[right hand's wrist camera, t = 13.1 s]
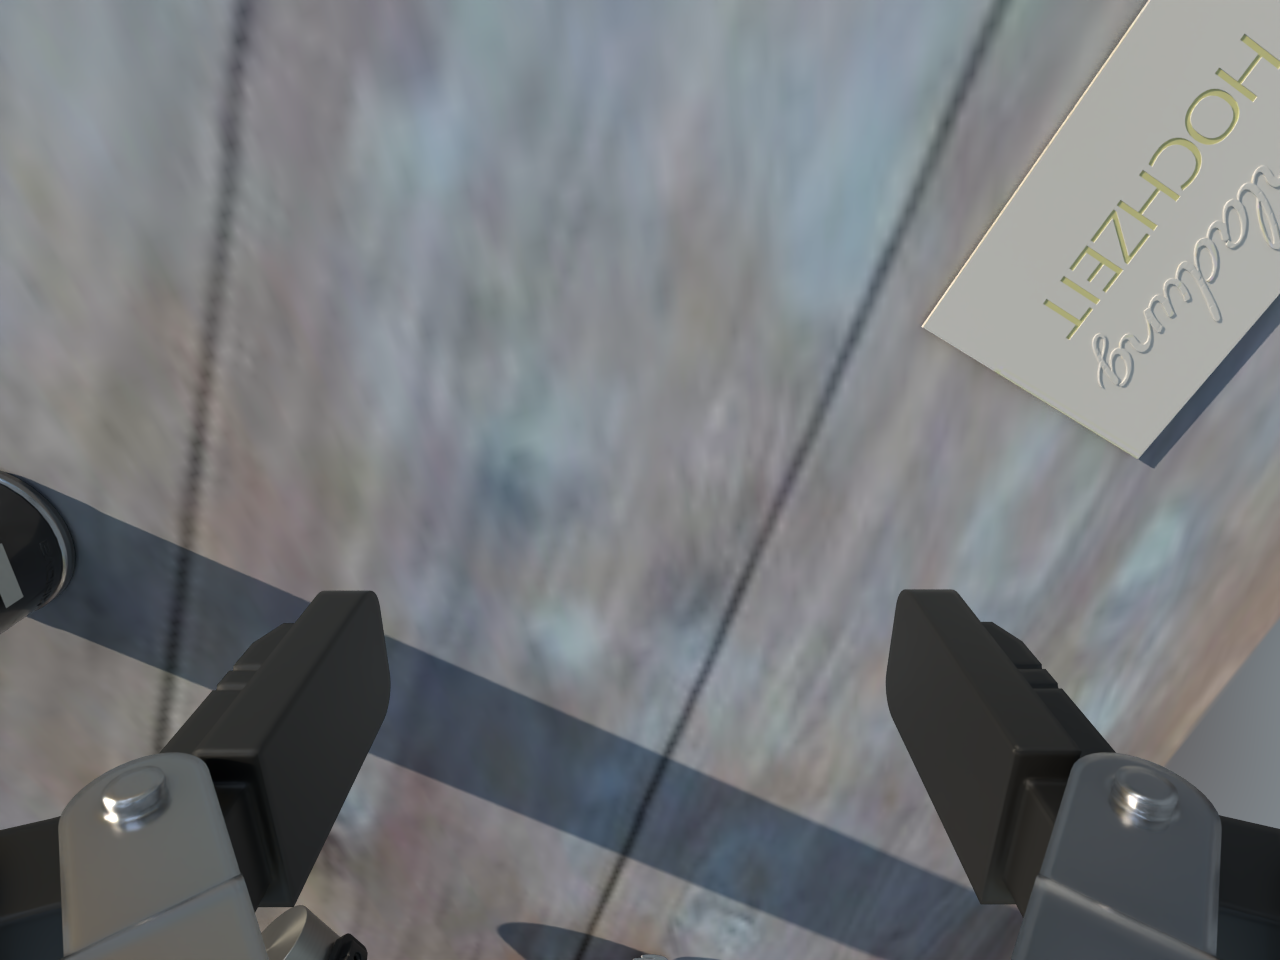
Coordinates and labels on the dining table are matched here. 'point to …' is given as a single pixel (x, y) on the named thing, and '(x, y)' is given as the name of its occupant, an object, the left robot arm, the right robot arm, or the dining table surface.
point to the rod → (298, 936)
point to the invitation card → (1138, 227)
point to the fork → (651, 957)
